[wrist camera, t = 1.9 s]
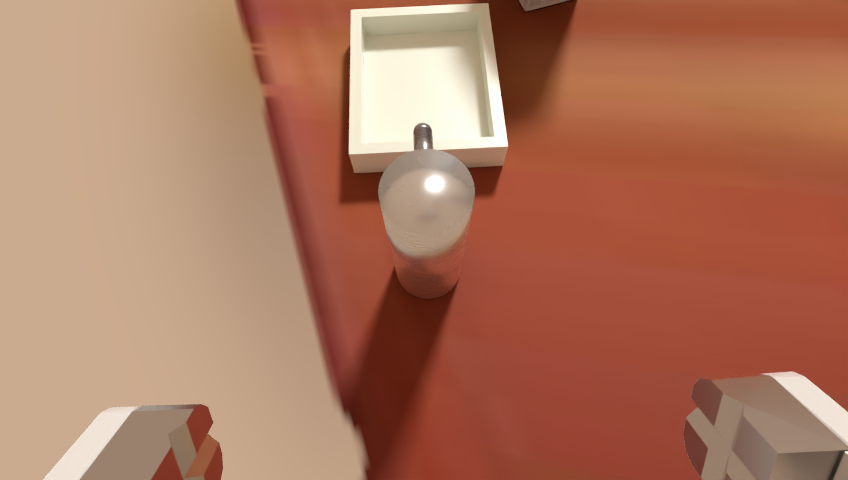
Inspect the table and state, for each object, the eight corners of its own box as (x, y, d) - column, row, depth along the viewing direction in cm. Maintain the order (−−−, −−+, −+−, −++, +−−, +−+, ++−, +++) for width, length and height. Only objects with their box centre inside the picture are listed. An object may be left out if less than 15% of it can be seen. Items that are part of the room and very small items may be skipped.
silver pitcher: (455, 202, 39) (465, 101, 27) (463, 297, 36) (479, 231, 24) (394, 205, 39) (377, 106, 27) (396, 300, 36) (378, 237, 24)
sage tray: (484, 28, 46) (488, 2, 43) (502, 165, 40) (508, 146, 37) (355, 34, 46) (351, 9, 43) (354, 173, 40) (348, 154, 37)
